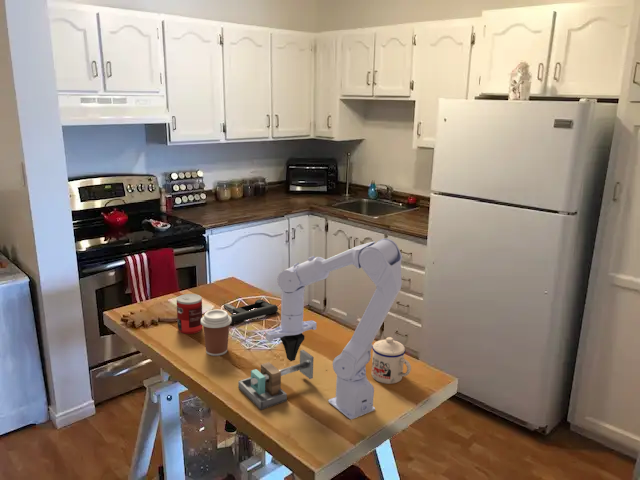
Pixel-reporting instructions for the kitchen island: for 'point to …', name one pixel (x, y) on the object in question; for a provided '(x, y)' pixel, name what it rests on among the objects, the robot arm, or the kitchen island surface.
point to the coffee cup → (216, 331)
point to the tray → (263, 399)
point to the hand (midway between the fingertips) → (290, 359)
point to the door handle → (251, 311)
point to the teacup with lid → (389, 361)
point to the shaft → (296, 367)
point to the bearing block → (271, 378)
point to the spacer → (261, 382)
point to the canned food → (189, 313)
